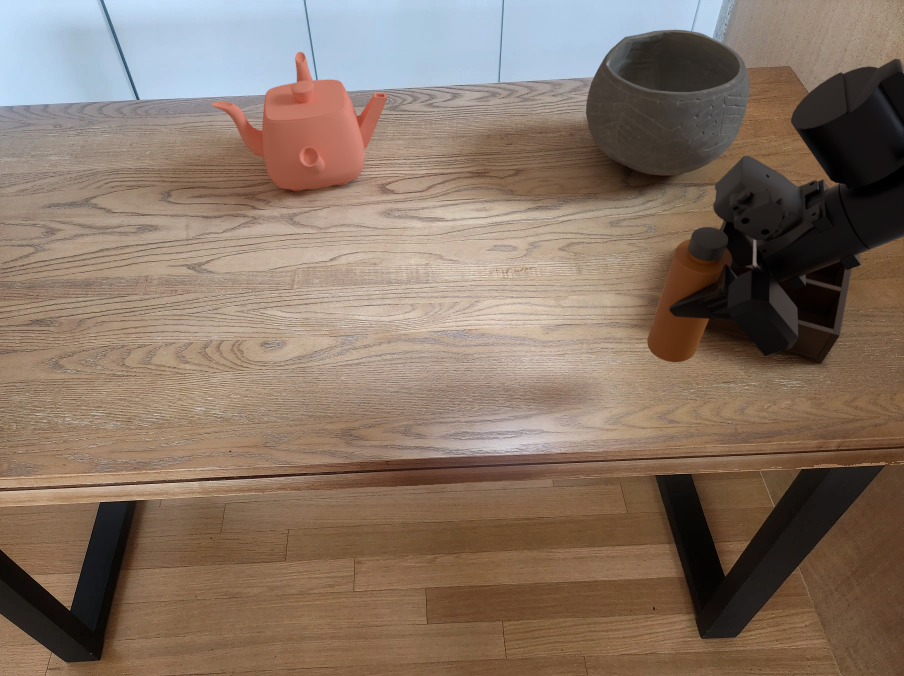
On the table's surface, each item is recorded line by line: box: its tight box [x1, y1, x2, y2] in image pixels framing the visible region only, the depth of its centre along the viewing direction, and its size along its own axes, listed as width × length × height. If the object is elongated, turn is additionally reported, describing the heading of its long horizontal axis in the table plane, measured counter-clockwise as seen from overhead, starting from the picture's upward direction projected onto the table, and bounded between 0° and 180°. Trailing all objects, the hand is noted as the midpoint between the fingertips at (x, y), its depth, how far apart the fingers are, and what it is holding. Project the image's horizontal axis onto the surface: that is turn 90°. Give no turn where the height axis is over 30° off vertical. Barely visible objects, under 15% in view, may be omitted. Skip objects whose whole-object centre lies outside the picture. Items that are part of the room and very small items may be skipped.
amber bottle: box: [646, 226, 732, 363], centre depth 63 cm, size 5×5×14 cm
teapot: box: [211, 51, 388, 192], centre depth 98 cm, size 18×18×14 cm
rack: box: [705, 261, 853, 364], centre depth 78 cm, size 15×15×5 cm
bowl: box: [585, 29, 750, 176], centre depth 94 cm, size 21×21×15 cm
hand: (673, 293), depth 63 cm, fingers closed on amber bottle, 5 cm apart
